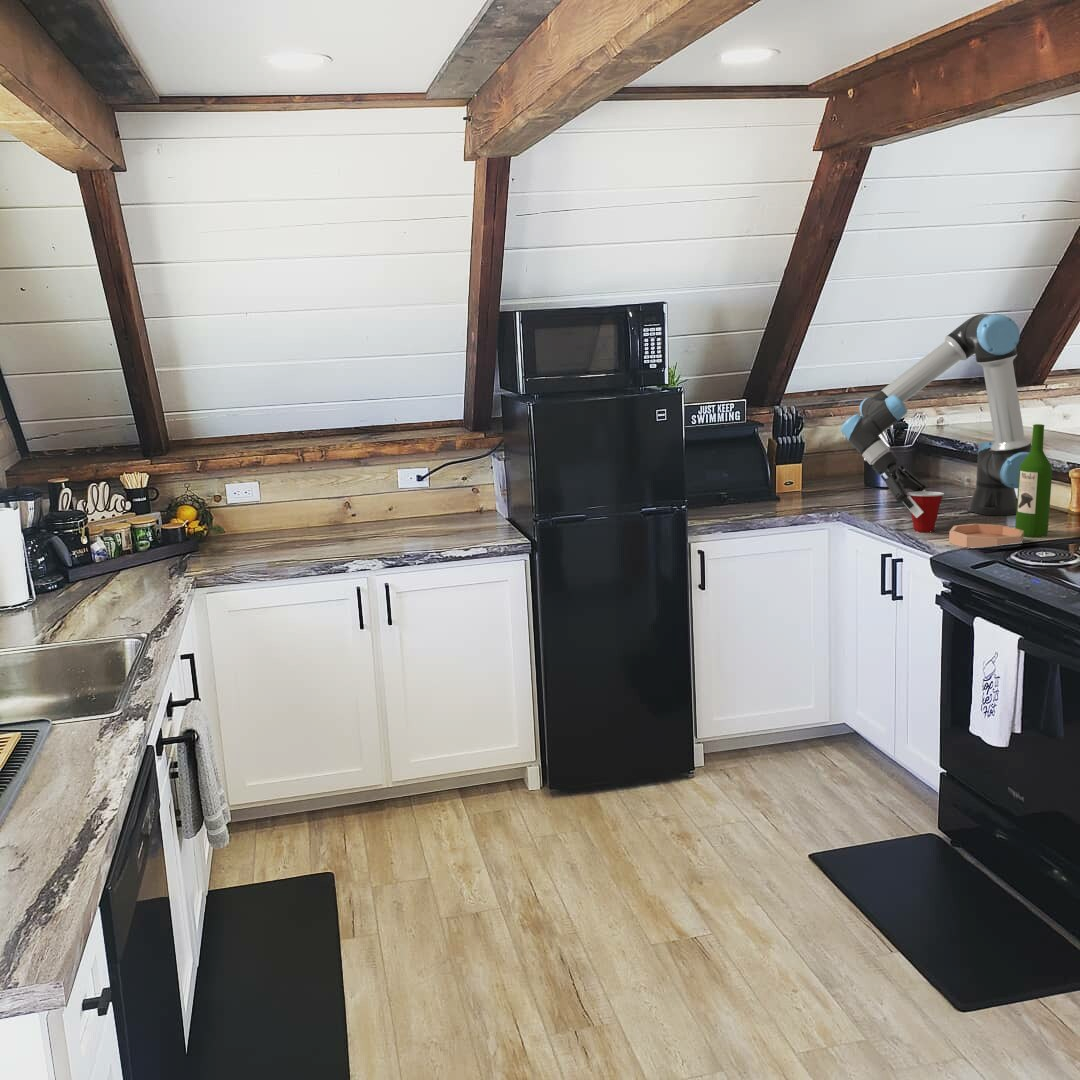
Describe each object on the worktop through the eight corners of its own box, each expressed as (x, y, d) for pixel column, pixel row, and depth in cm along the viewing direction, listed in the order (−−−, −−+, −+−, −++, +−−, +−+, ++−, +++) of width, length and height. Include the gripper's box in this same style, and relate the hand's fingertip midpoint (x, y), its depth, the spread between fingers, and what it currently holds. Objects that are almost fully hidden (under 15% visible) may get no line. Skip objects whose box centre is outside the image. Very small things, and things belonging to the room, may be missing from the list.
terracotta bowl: (991, 533, 335) (992, 521, 334) (1036, 546, 317) (1037, 534, 316) (936, 538, 329) (937, 527, 329) (979, 552, 312) (980, 540, 311)
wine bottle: (1009, 534, 332) (1016, 425, 325) (1022, 530, 338) (1029, 422, 331) (1040, 539, 326) (1048, 427, 319) (1052, 533, 332) (1060, 424, 325)
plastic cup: (937, 526, 346) (939, 488, 343) (946, 534, 335) (948, 494, 333) (901, 527, 347) (903, 488, 344) (909, 534, 336) (910, 495, 334)
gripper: (887, 461, 357) (932, 512, 351) (856, 471, 338) (903, 526, 332) (904, 445, 352) (950, 497, 346) (874, 455, 334) (922, 510, 328)
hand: (927, 511), depth 339 cm, fingers open, 12 cm apart
